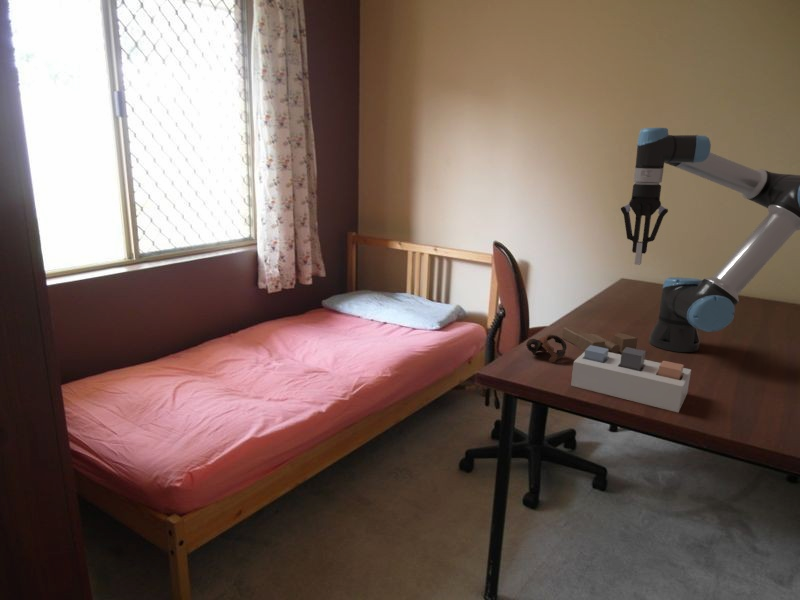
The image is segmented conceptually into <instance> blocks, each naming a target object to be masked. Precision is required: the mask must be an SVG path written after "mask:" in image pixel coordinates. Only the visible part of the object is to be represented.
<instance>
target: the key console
mask: <svg viewBox="0 0 800 600" xmlns="http://www.w3.org/2000/svg"><path fill="white" fill-rule="evenodd" d="M584 356H585V351H583V352H582V354H581V355H579V356H578V357H577V358H576V359H575V360H574V361H573V366H572V374H571V380H570V381H571V383H570V386H571V387H575V388H579V389H583V390H587V391H590V392H595V393H598V394H602V395H606V396H612V397H614V398H615V397H616V398H620V399H622V400H623V399H624V400H628V401H631V402H636V403H638V404H642V405H646V406H651V407H655V408H659V409H663V410H667V411H670V412H674V413H679V412H680V410H681V409H682V408H681V407H682V405H683V404H684V401H685V400H686V397H687V396H688V392H689V386H690V385H689V384H690V381H691V380H690V378H691V375H692V374H691V372H692V369H690V368H685V367H683V372H682V378H681V380H677V379H672V378H668V377H663V376H659V375H658V371H659V366H660V364H661V363H662V362H657V361H653V360H649V359H648V360H647V359H645V360H644V367H643V369H642V371H637V370H632V369H628V368H623V367H620V362H621V354H620V353H617V354H616V353H611V352H608V358H607V361H606V362H605V363H601V362H596V361H592V360H587V359H584Z"/></svg>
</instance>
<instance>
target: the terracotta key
mask: <svg viewBox="0 0 800 600" xmlns="http://www.w3.org/2000/svg"><path fill="white" fill-rule="evenodd" d="M660 363H661V364H660V366H659V371H658V375H659V376H663V377H668V378H672V379H677V380H681V378H682V372H683V368H684V366H685V365H684V364H681V363H677V362H671V361H667V360H662V361H661V362H660Z"/></svg>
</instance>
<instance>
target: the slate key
mask: <svg viewBox="0 0 800 600" xmlns="http://www.w3.org/2000/svg"><path fill="white" fill-rule="evenodd" d="M608 351H609V349H607V348H602V347H597V346H592V345H590V346H589V347H588V348H587V349H586V350H585V351H584V352H585V356H584V359H587V360H592V361H596V362H601V363H605V362H606V361H607V358H608Z"/></svg>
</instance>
